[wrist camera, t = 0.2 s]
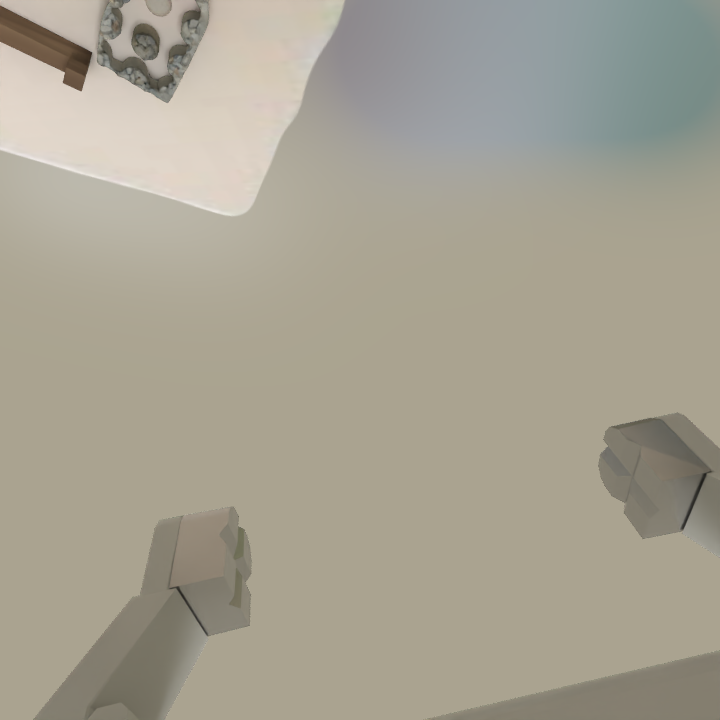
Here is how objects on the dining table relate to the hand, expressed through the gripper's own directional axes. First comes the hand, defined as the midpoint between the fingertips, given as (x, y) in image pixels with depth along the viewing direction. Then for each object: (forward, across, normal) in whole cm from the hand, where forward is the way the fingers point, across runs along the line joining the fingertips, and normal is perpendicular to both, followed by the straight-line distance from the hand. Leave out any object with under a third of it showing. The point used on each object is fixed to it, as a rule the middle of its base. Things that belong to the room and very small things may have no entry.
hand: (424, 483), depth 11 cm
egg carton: (+52, +12, -10) cm, 54 cm away
